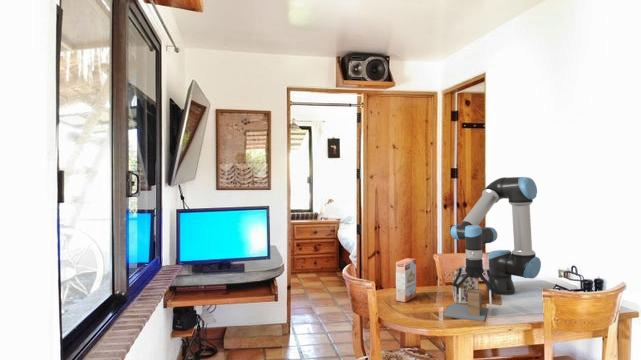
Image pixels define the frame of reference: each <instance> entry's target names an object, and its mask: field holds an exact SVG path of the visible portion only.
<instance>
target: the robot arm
mask: <svg viewBox="0 0 641 360" xmlns="http://www.w3.org/2000/svg"><path fill="white" fill-rule="evenodd" d="M537 194H538V189H537V184H536V182H535V180H533V179H532V178H531V177H526V176H519V177H518V176H515V177H514V176H513V177H506V176H505V177H500V178H497V179H495V180H493V181H492V182H490V183H489V184H488V185H487V186H486V187H485V188H484V189H483V190H482V191H481V196H480V197H479V199H478V200H477V202H476V203H475V204H474V205H473V207H472V208H471V209H470V211H468V213H467V214H466V216H465V217H464V219H463V220H462V221H461V223H459V224H456V225H452V226H451V228H450V236H451V237H452V239H453V240H457V241H464V245H465V248H464V249H465V258H466V259H465V266H466V268H462V266H460V267H459V268H458V269H459V273H458V275H457V277H456V279H455V280H454V282H453V281H452V287H453V286H455V287H456V288H457V294H459V302H461V301H462V294H461V287H460V286H461V284H462V283H463V282H464V281H465V280H466V279H467V278H468V277H471V278H478V279H480V281H482V282H483V283H484V284H485V285H486V287H485V290H486V291H487V292H488V294H489V295H488V296H489V301H488V302H489V306H492V304H493V299H494V298H495V295H503V296H508V295H514V294H515V293H516V287H515V285H514V281H513V278H512V276H515V277H520V278H524V279H535V278H536V277H538V275H539V273H540V271H541V268H542V261H541V259H540V258H539V257H538V256H536V251H534V250H533V244H532V243H533V242H532V241H533V240H532V226H531V225H532V224H531V223H532V222H531V205H532V203H533V201H534V200H535V199H536V198H537ZM502 199H508V204H510V205H511V210H512V211H511V213H512V215H511V216H512V231H513V247H514V248H513V250H509V249H498V250H492V251H490V252H489V253H488V268H486V269H484V267H483V266H484V264H483V261H484V260H483V245H485V244H491V243H493V242H495V241H497V239H498V232H497V230H496V229H495V228H493V227H491V226H487V227H482V226H480V223H482V221H483V220H484V218H485V217H486V215H488V213H489V212H490V210H491V209H492V207H493V206H494V204H496V203H498V202H499V201H500V200H502ZM463 271H466V273H467V275H466V276H465V277H464V278H463V279H462V280H461V281H460V282H459V283H458V284H456V283H457V281H458V279H459V277H460V275H461V273H462V272H463ZM484 273H485V274H486V275H487V278H488V279H486V277H485V276H484Z"/></svg>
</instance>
